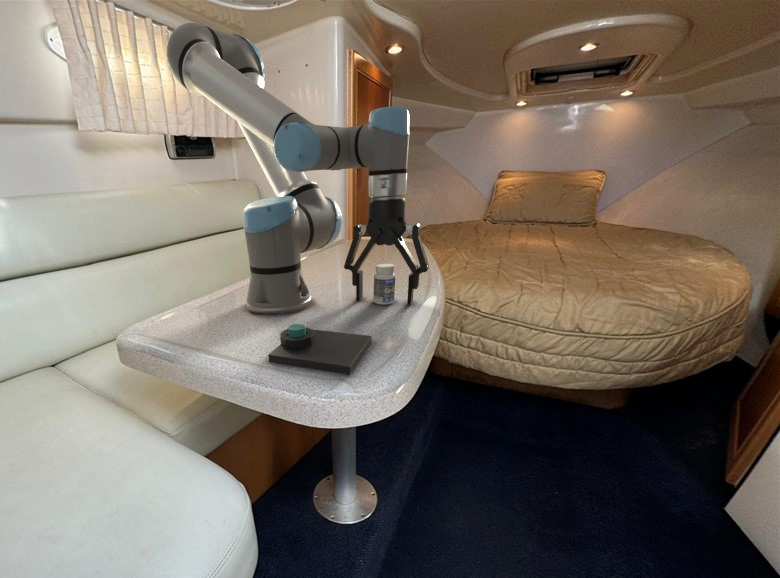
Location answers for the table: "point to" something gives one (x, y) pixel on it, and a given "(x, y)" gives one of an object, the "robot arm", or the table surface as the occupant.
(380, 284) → the pill bottle
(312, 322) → the table surface
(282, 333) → the dark grey base board
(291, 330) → the power button
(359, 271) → the robot arm
